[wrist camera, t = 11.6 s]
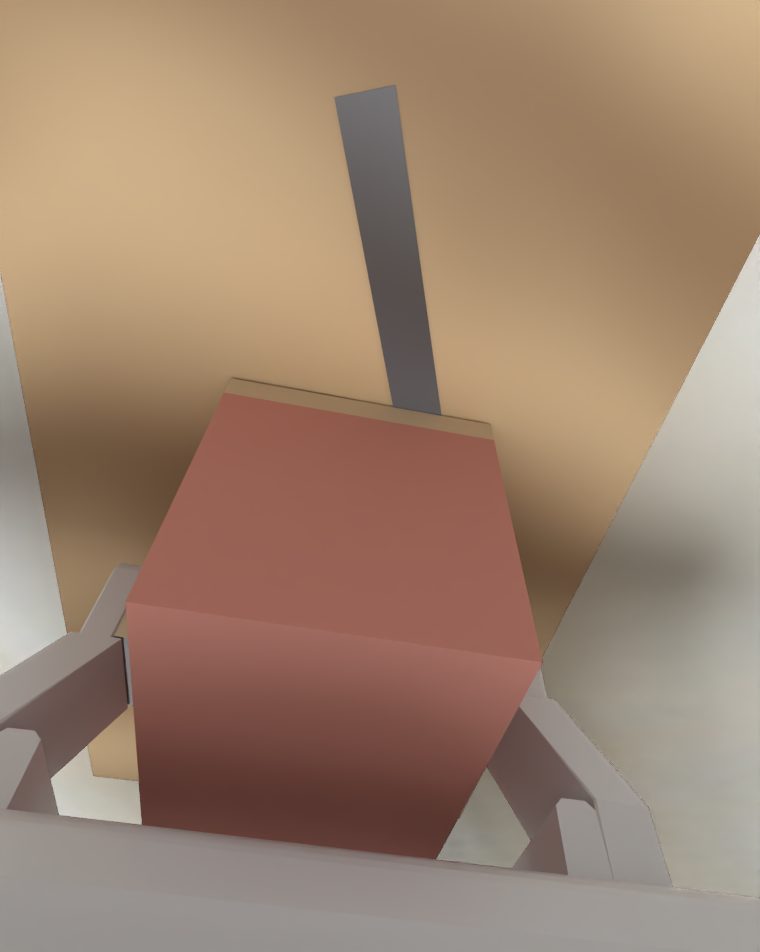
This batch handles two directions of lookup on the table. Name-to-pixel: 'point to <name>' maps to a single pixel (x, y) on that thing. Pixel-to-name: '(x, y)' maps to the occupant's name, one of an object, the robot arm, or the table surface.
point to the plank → (366, 241)
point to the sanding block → (328, 626)
